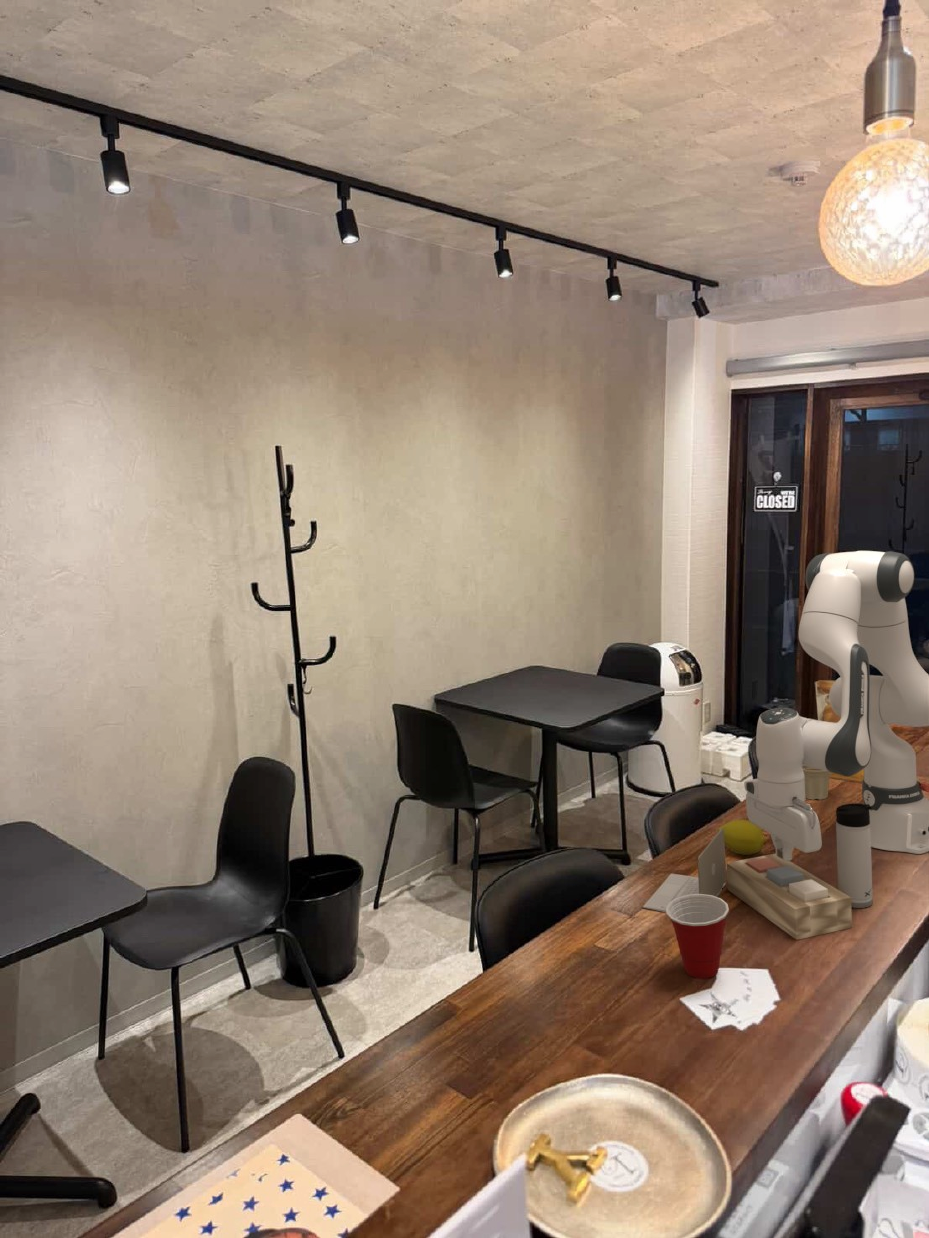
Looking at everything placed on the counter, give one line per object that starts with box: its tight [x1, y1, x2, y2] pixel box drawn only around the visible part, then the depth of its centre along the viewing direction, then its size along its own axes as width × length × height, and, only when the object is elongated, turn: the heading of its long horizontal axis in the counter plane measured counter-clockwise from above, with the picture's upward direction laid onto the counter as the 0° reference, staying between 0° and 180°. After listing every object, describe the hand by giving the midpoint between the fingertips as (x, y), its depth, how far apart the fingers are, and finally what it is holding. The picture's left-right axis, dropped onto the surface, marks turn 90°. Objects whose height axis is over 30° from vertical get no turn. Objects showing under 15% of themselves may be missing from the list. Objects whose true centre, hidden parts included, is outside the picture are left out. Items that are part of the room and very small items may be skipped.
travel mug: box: [835, 802, 874, 909], centre depth 176 cm, size 6×7×20 cm
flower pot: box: [802, 766, 831, 801], centre depth 240 cm, size 9×9×9 cm
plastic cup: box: [665, 894, 730, 979], centre depth 156 cm, size 11×11×12 cm
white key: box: [789, 879, 828, 903], centre depth 169 cm, size 5×5×3 cm
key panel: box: [726, 853, 853, 941], centre depth 177 cm, size 12×24×6 cm, turn 14°
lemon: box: [717, 819, 767, 856], centre depth 206 cm, size 11×8×8 cm
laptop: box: [642, 828, 727, 913], centre depth 186 cm, size 18×12×13 cm
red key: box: [746, 858, 781, 873], centre depth 184 cm, size 5×5×3 cm
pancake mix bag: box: [814, 679, 864, 784], centre depth 251 cm, size 7×19×28 cm, turn 44°
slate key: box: [767, 865, 804, 887], centre depth 177 cm, size 5×5×3 cm
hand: (784, 858), depth 176 cm, fingers closed
